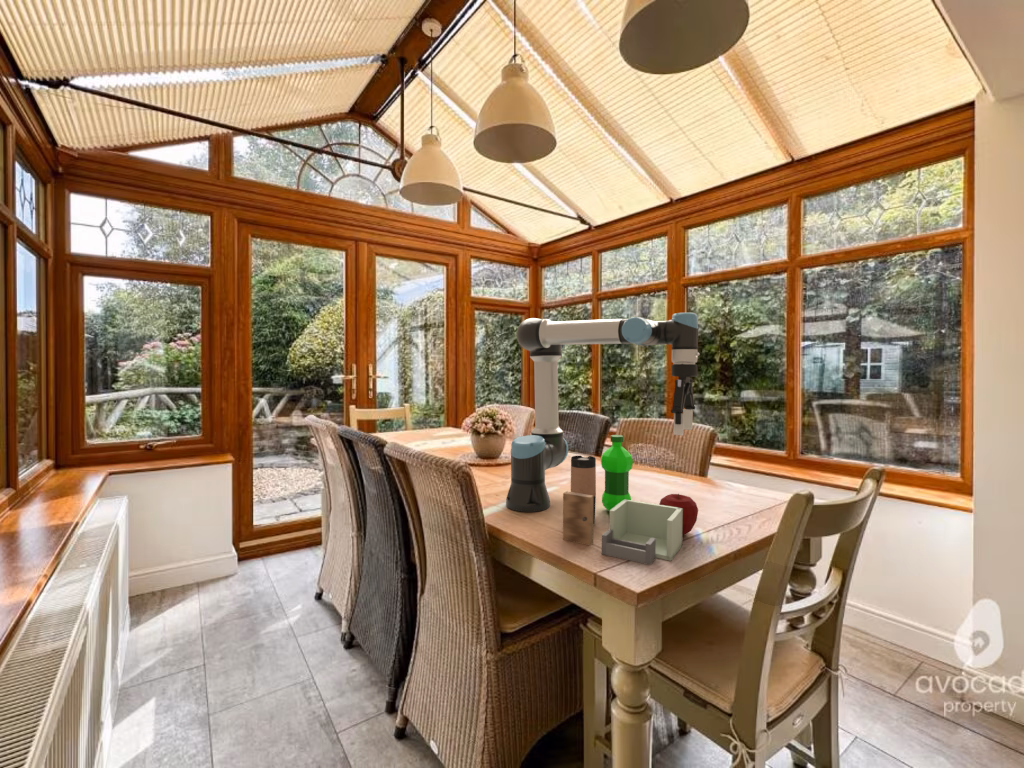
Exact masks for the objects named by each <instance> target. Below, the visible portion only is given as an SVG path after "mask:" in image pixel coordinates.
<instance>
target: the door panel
mask: <svg viewBox="0 0 1024 768" xmlns="http://www.w3.org/2000/svg"><path fill="white" fill-rule="evenodd" d="M562 497H563V498H562V504H563V505H562V508H563V509H562V510H563V511H562V523H563V524H562V540H564V541H568V542H573V543H578V544H583V545H587V546H591V545H593V543H594V524H593V497H594V496H593V495H587V494H581V493H574V492H571V491H568V490H567V491H565V492H563V494H562Z"/></svg>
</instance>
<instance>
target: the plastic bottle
mask: <svg viewBox="0 0 1024 768" xmlns="http://www.w3.org/2000/svg"><path fill="white" fill-rule="evenodd" d="M610 442H611V446H610V447H608V449H605V451H604V452H603V453H602V455H601V458H600V464H601V468H602V469H603V470H604V491H603V493H602V495H601V503H602V506H603V507H604V508H605V509H606V510H608V512H609V513H610V510H611V509H612V508H614V507H615V506H616V505H618V504H619V503H620V502H622V501H623V500H624V499H626V500H632V496H631V494H630V492H629V481H630V479H629V477H630V476H629V475H630V474H629V472H631V470H632V468H633V464H634V463H633V461H634V460H633V456H632V455H631V453H630V452H629V451H628V450H627V449H625V447H623V446H622V445H623V442H624V436H623V435H622V434H621V435H620V434H612V435H610Z"/></svg>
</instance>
